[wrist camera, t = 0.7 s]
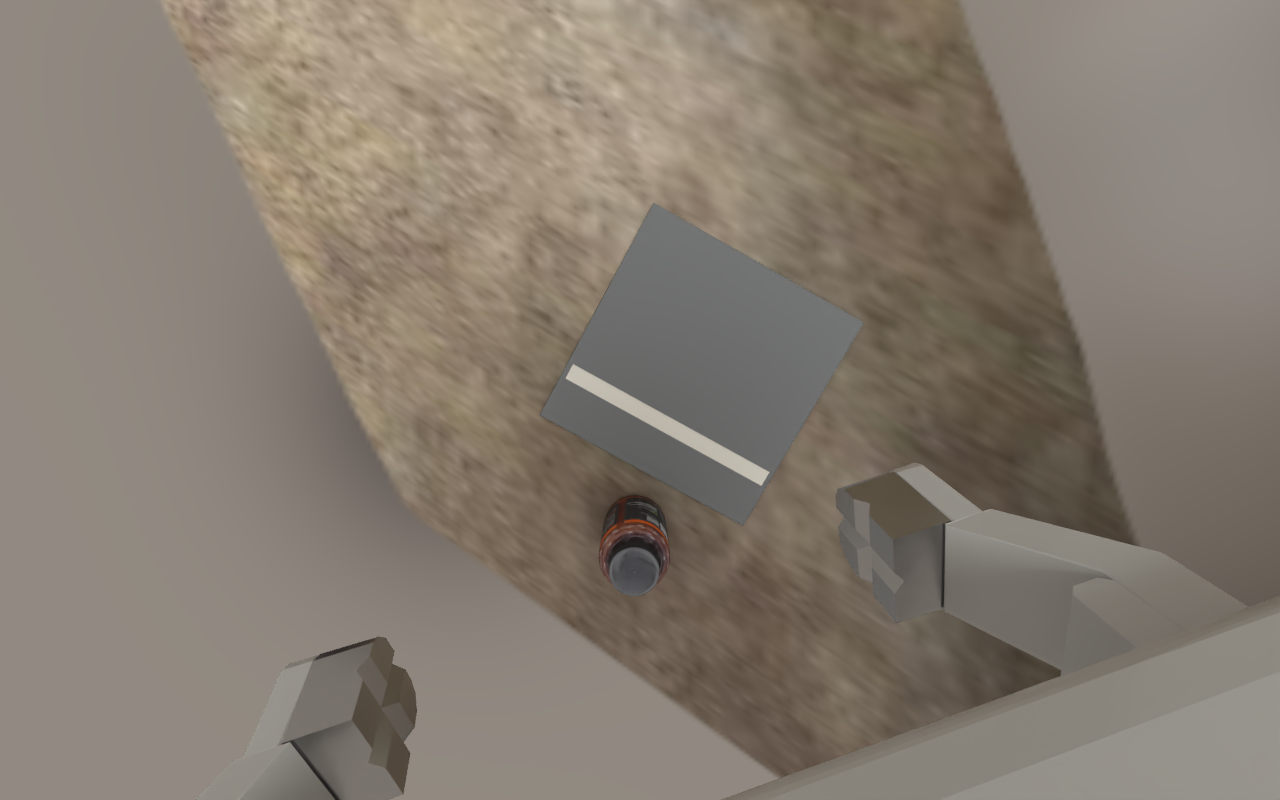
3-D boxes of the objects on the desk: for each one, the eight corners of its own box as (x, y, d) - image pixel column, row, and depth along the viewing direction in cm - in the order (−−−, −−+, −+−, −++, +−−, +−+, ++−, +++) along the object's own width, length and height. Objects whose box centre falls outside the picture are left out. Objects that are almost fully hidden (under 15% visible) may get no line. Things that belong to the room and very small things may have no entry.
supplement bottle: (603, 552, 57) (593, 607, 45) (605, 492, 56) (595, 533, 45) (665, 555, 57) (669, 610, 45) (667, 495, 56) (673, 536, 45)
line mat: (862, 322, 54) (864, 322, 53) (742, 524, 56) (743, 526, 55) (653, 203, 53) (653, 202, 52) (540, 414, 55) (539, 415, 54)
